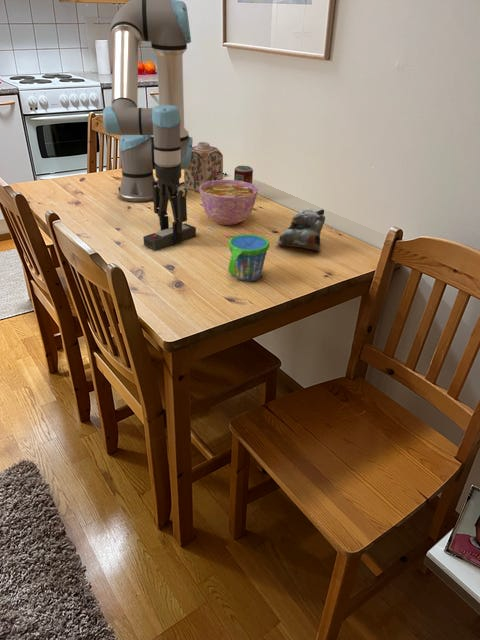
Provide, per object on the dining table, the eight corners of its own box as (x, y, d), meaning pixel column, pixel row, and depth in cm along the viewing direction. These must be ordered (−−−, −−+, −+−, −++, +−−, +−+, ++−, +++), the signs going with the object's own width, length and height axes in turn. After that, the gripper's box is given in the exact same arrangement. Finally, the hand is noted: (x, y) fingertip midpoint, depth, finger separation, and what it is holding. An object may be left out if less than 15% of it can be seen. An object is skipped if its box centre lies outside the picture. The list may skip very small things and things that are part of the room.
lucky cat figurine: (269, 243, 154) (281, 200, 152) (298, 252, 160) (310, 211, 158) (296, 247, 141) (309, 200, 139) (327, 257, 147) (340, 212, 146)
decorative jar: (201, 182, 208) (201, 138, 198) (223, 187, 202) (224, 143, 193) (183, 188, 199) (182, 143, 190) (205, 194, 194) (205, 147, 184)
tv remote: (185, 231, 159) (184, 221, 158) (196, 235, 157) (195, 226, 155) (143, 245, 149) (143, 235, 147) (154, 250, 146) (154, 240, 144)
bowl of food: (187, 220, 169) (186, 187, 163) (227, 207, 182) (228, 176, 175) (228, 236, 158) (229, 201, 151) (268, 221, 170) (270, 189, 164)
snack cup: (244, 292, 126) (245, 256, 121) (214, 279, 132) (214, 244, 126) (279, 272, 136) (282, 239, 131) (250, 261, 142) (252, 228, 136)
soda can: (248, 202, 187) (250, 170, 181) (231, 200, 189) (232, 168, 182) (253, 197, 193) (255, 165, 187) (236, 195, 195) (237, 164, 188)
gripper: (199, 168, 138) (199, 244, 150) (157, 156, 148) (161, 228, 160) (179, 172, 133) (181, 251, 145) (138, 160, 143) (143, 234, 155)
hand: (171, 239), depth 153 cm, fingers closed on tv remote, 5 cm apart
